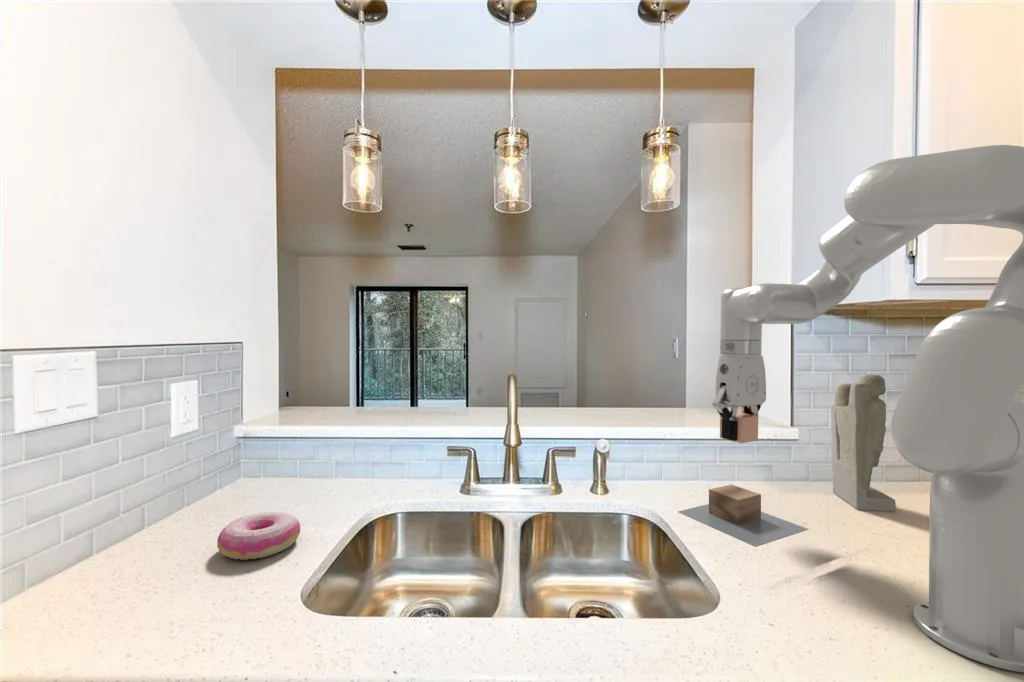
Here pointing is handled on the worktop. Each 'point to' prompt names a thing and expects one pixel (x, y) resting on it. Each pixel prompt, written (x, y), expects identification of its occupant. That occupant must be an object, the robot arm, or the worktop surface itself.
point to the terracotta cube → (745, 428)
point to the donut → (258, 535)
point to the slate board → (746, 526)
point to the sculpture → (859, 442)
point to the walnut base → (735, 504)
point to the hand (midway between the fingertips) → (738, 436)
